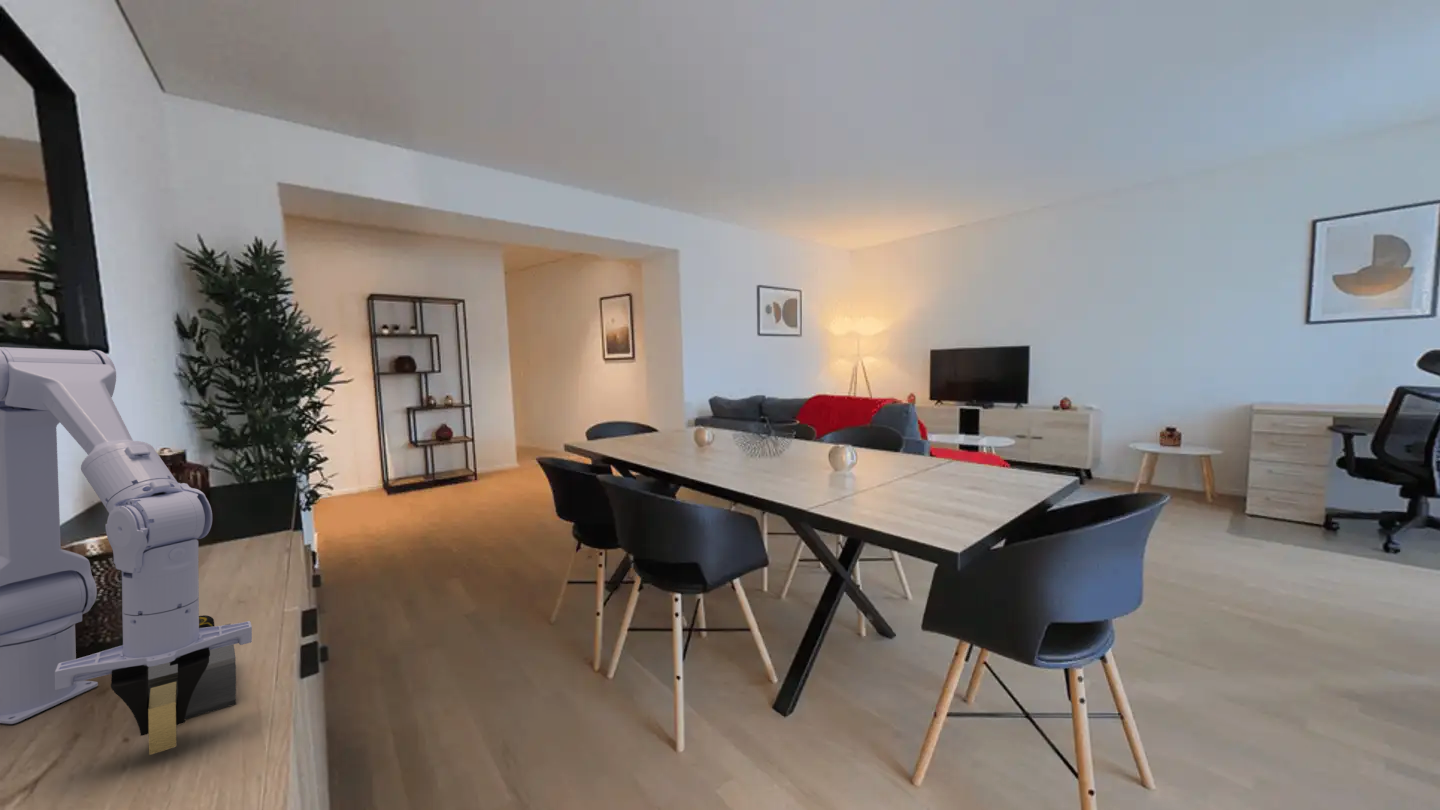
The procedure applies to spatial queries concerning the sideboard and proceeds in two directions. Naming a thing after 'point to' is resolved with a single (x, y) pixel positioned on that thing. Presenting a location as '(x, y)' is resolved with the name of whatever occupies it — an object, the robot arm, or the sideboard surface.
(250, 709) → the sideboard surface
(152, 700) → the wooden rectangular block
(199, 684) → the coin box
